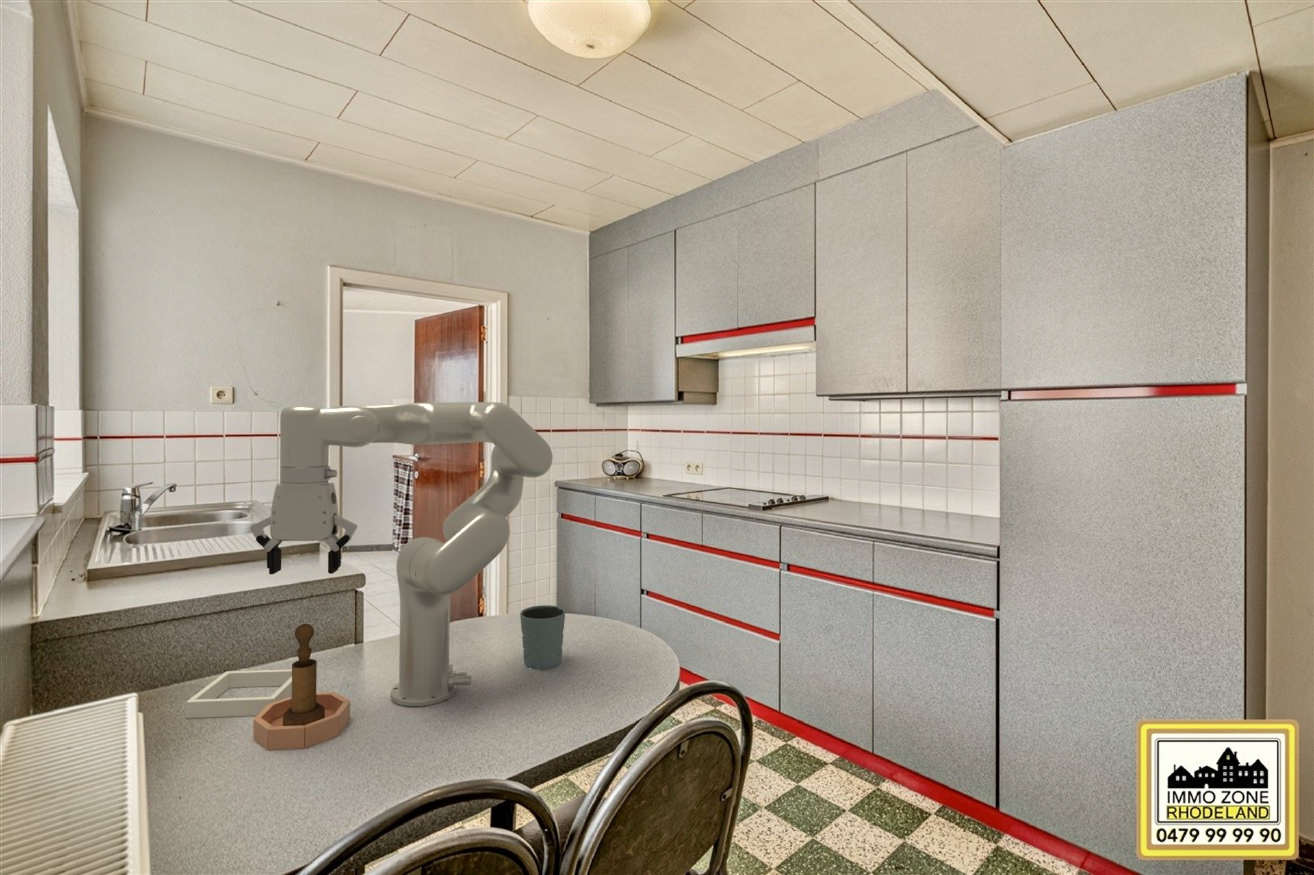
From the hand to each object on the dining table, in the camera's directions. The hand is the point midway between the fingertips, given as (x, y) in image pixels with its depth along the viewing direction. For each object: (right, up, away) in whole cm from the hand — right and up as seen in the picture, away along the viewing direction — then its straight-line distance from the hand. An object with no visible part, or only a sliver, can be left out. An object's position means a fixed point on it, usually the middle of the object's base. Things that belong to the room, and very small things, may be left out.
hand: (304, 572), depth 113 cm
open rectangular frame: (-17, -27, +12) cm, 34 cm away
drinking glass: (+36, -28, +33) cm, 57 cm away
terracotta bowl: (-1, -28, +1) cm, 28 cm away
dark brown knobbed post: (-1, -28, +1) cm, 28 cm away
